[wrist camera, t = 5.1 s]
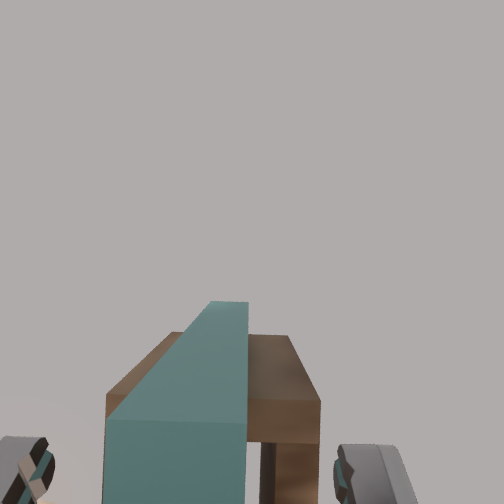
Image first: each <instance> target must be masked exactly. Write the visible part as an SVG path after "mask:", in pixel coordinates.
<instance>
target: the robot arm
mask: <svg viewBox="0 0 504 504" xmlns="http://www.w3.org/2000/svg"><path fill="white" fill-rule="evenodd" d="M48 445H49V444H48V442H47V440H46V438H45V437H12V436H0V504H37V500H38V499H39V498H40V497H41V496H42V495H43V494H44V493H46V491H47V490H48V488H49V485H50V483H51V481H52V478H53V474H54V470H55V459H54V456H53V454H51V453H50V452H49V451H47V450H46V449H47V447H48ZM337 452H338V457H339V458H338V459H337V460H336V461H335V464H334V470H333V471H334V474H333V475H334V477H333V478H334V488H335V493H336V498H337V499H338V501H339V502H340V503H341V504H418V502H417V499H416V497H415V494H414V491H413V489H412V486H411V483H410V481H409V478H408V475H407V472H406V470H405V467H404V464H403V462H402V459H401V456H400V454H399V451H398V449H397V448H396V447H395V446H393V445H375V444H341V445H340V446H339V447H338V451H337Z"/></svg>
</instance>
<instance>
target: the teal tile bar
mask: <svg viewBox="0 0 504 504" xmlns="http://www.w3.org/2000/svg"><path fill="white" fill-rule="evenodd" d="M247 395H248V302H223V301H222V302H221V301H211V302H210V303H209V304H208V305H207V307H206V308H205V309H204V310H203V311H202V312H201V313H200V314H199V316H198V317H197V318H196V319H195V320H194V321H193V322H192V324H191V325H190V326H189V327H188V328H187V329H186V330H185V331H184V332H183V334H182V335H181V336H180V337H179V338H178V339H177V340H176V341H175V343H174V344H173V345H172V346H171V347H170V348H169V349H168V350H167V352H166V353H165V354H164V355H163V356H162V357H161V358H160V359H159V361H158V362H157V363H156V364H155V365H154V366H153V367H152V368H151V370H150V371H149V372H148V373H147V374H146V375H145V376H144V377H143V379H142V380H141V381H140V382H139V383H138V384H137V385H136V386H135V388H134V389H133V390H132V391H131V392H130V393H129V394H128V395H127V397H126V398H125V399H124V400H123V401H122V402H121V403H120V404H119V406H118V407H117V408H116V409H115V410H114V411H113V412H112V413H111V415H110V416H109V417H108V418H107V419H106V437H105V461H104V485H103V504H244V502H245V474H246V444H247Z"/></svg>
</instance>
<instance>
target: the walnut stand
mask: <svg viewBox="0 0 504 504" xmlns="http://www.w3.org/2000/svg"><path fill="white" fill-rule="evenodd" d="M182 334H183V332H171V333H170V334H169V335H168V336H167V337H166V338H165V339H164V340H163V341H162V342H161V343H160V344H159V345H158V346H157V347H156V348H154V349H153V350H152V351H151V352H150V353H149V354H148V355H147V356H146V357H145V358H144V359H143V360H142V361H141V362H140V363H139V364H138V365H137V366H135V367H134V369H132V370H131V371H130V372H129V373H128V374H127V375H126V376H125V377H124V378H123V379H122V380H121V381H120V382H119V383H118V384H116V385H115V386H114V387H113V388H112V389H111V390H110V391H109V392H108V393H107V394H106V416H105V437H106V419H107V418H108V417H109V416H110V415H111V413H112V412H113V411H114V410H115V409H116V408H117V407H118V406H119V404H120V403H121V402H122V401H123V400H124V399H125V398H126V397H127V395H128V394H129V393H130V392H131V391H132V390H133V389H134V388H135V386H136V385H137V384H138V383H139V382H140V381H141V380H142V379H143V377H144V376H145V375H146V374H147V373H148V372H149V371H150V370H151V368H152V367H153V366H154V365H155V364H156V363H157V362H158V361H159V359H160V358H161V357H162V356H163V355H164V354H165V353H166V352H167V350H168V349H169V348H170V347H171V346H172V345H173V344H174V343H175V341H176V340H177V339H178V338H179V337H180V336H181V335H182ZM320 411H321V400H320V398H319V396H318V394H317V392H316V390H315V388H314V387H313V385H312V382H311V381H310V378H309V376H308V374H307V373H306V371H305V369H304V367H303V365H302V363H301V361H300V359H299V357H298V355H297V353H296V351H295V349H294V347H293V345H292V343H291V341H290V339H289V337H288V336H283V335H282V336H281V335H252V334H248V395H247V442H261V463H260V494H259V504H318V478H319V444H320ZM105 437H104V438H105ZM104 461H105V439H104ZM104 461H103V462H104ZM103 485H104V463H103ZM103 485H102V504H103Z"/></svg>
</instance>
